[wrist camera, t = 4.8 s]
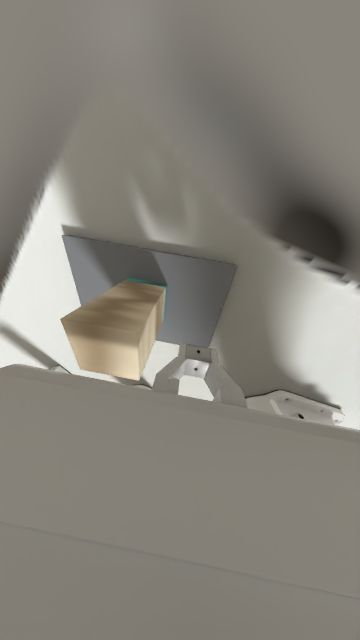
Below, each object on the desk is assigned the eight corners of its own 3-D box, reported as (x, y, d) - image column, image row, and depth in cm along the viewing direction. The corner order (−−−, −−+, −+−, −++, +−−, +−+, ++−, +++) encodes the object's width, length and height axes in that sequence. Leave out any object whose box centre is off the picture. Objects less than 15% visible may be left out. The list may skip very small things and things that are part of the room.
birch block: (167, 284, 17) (137, 333, 8) (164, 318, 20) (139, 380, 11) (128, 277, 17) (60, 319, 9) (130, 312, 20) (80, 369, 11)
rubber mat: (234, 264, 16) (237, 266, 15) (207, 345, 23) (207, 349, 22) (68, 235, 16) (61, 235, 15) (91, 324, 23) (87, 327, 22)
